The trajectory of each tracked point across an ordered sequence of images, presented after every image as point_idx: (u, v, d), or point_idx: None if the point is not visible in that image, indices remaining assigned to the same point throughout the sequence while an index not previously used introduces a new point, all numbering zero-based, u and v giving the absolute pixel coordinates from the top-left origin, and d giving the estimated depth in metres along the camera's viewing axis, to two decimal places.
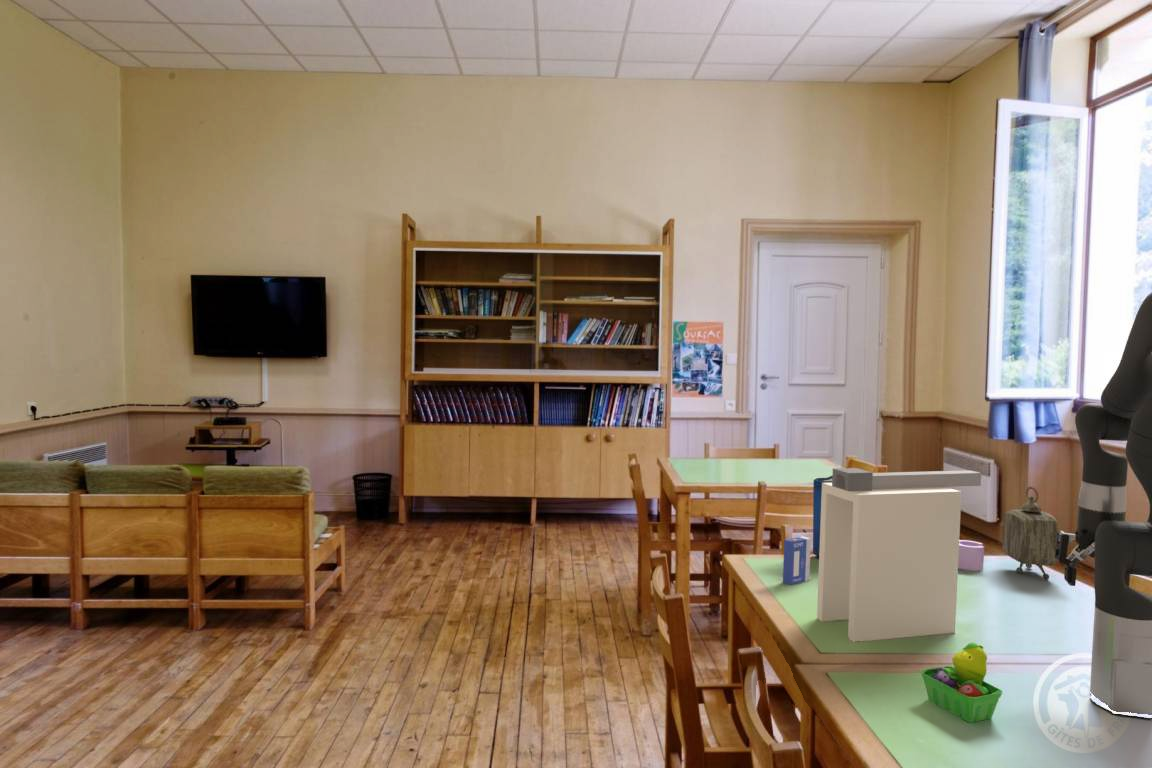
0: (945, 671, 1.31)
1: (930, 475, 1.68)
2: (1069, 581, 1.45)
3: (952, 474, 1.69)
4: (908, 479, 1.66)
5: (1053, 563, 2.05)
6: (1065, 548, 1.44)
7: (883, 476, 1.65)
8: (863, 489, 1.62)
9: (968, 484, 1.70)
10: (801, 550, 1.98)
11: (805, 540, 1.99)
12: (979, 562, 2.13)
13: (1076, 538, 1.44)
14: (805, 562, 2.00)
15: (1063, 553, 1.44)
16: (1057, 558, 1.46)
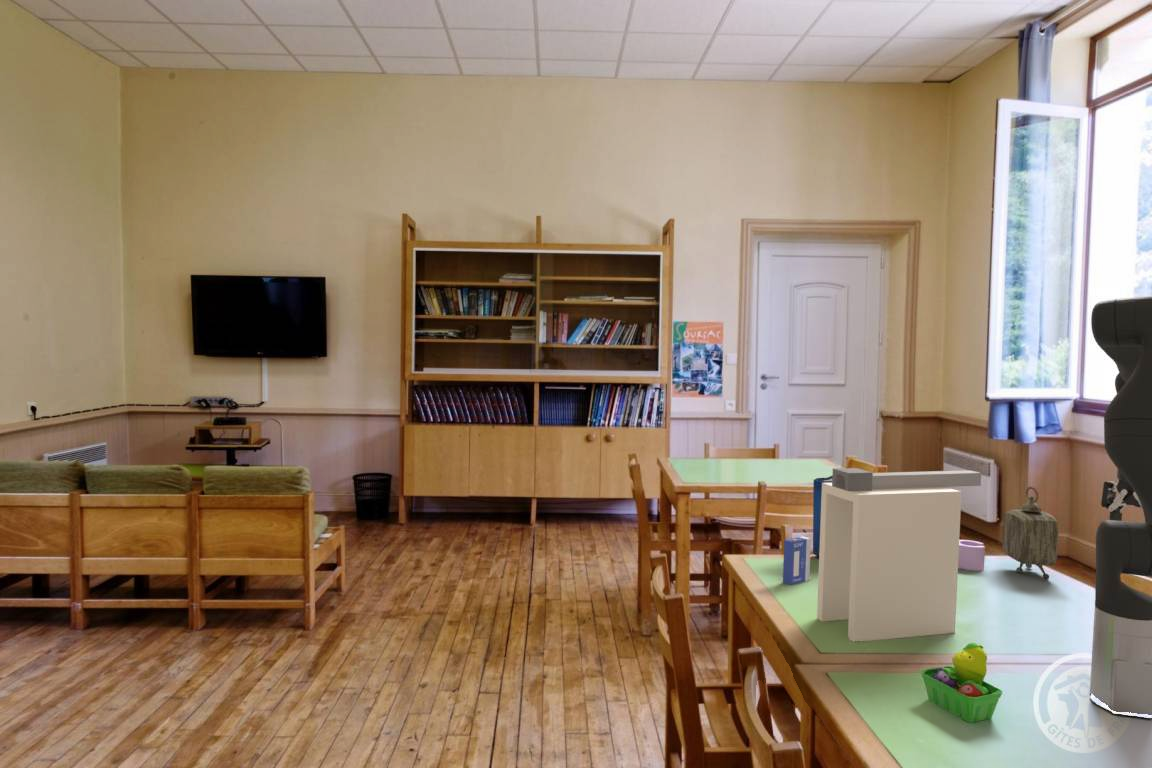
0: (945, 671, 1.31)
1: (930, 475, 1.68)
2: None
3: (952, 474, 1.69)
4: (908, 479, 1.66)
5: (1053, 563, 2.05)
6: None
7: (883, 476, 1.65)
8: (863, 489, 1.62)
9: (968, 484, 1.70)
10: (801, 550, 1.98)
11: (805, 540, 1.99)
12: (980, 562, 2.14)
13: None
14: (805, 562, 2.00)
15: None
16: None
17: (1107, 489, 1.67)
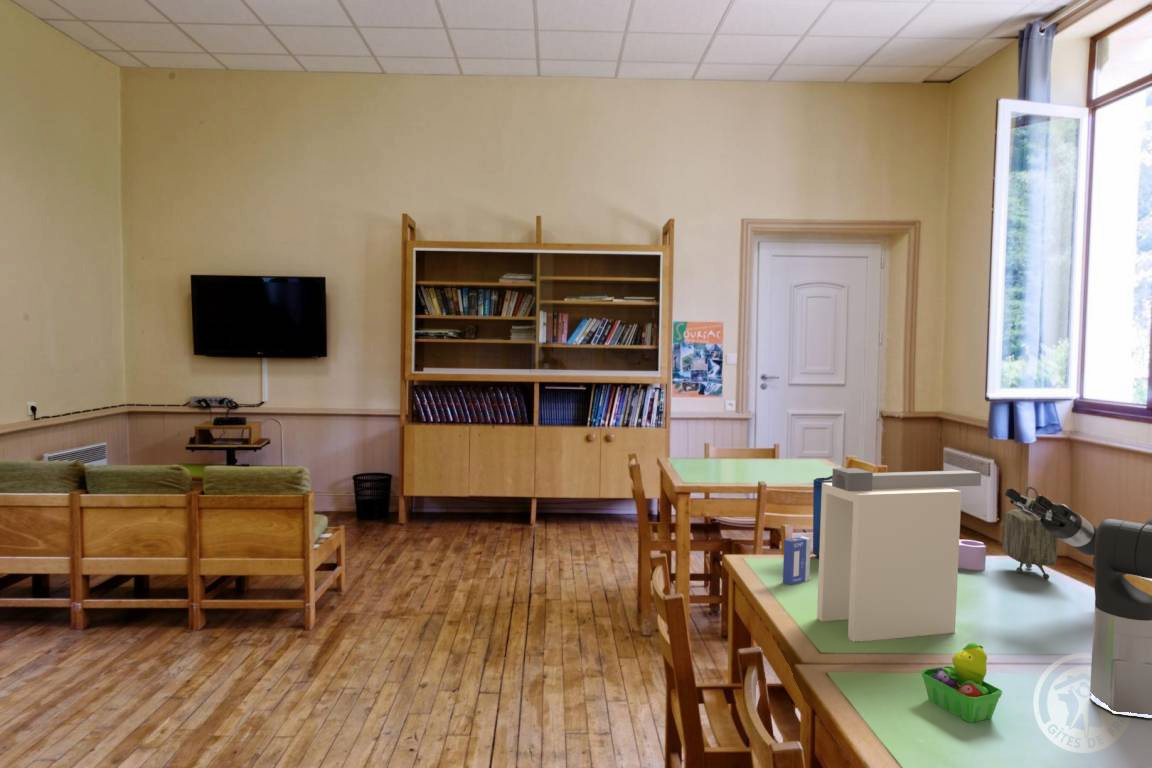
0: (945, 671, 1.31)
1: (930, 475, 1.68)
2: (1040, 503, 1.72)
3: (952, 474, 1.69)
4: (908, 479, 1.66)
5: (1053, 563, 2.05)
6: (1063, 519, 1.72)
7: (883, 476, 1.65)
8: (863, 489, 1.62)
9: (968, 484, 1.70)
10: (801, 550, 1.98)
11: (805, 540, 1.99)
12: (981, 562, 2.14)
13: (1063, 519, 1.75)
14: (805, 562, 2.00)
15: (1061, 517, 1.72)
16: (1062, 512, 1.71)
17: None
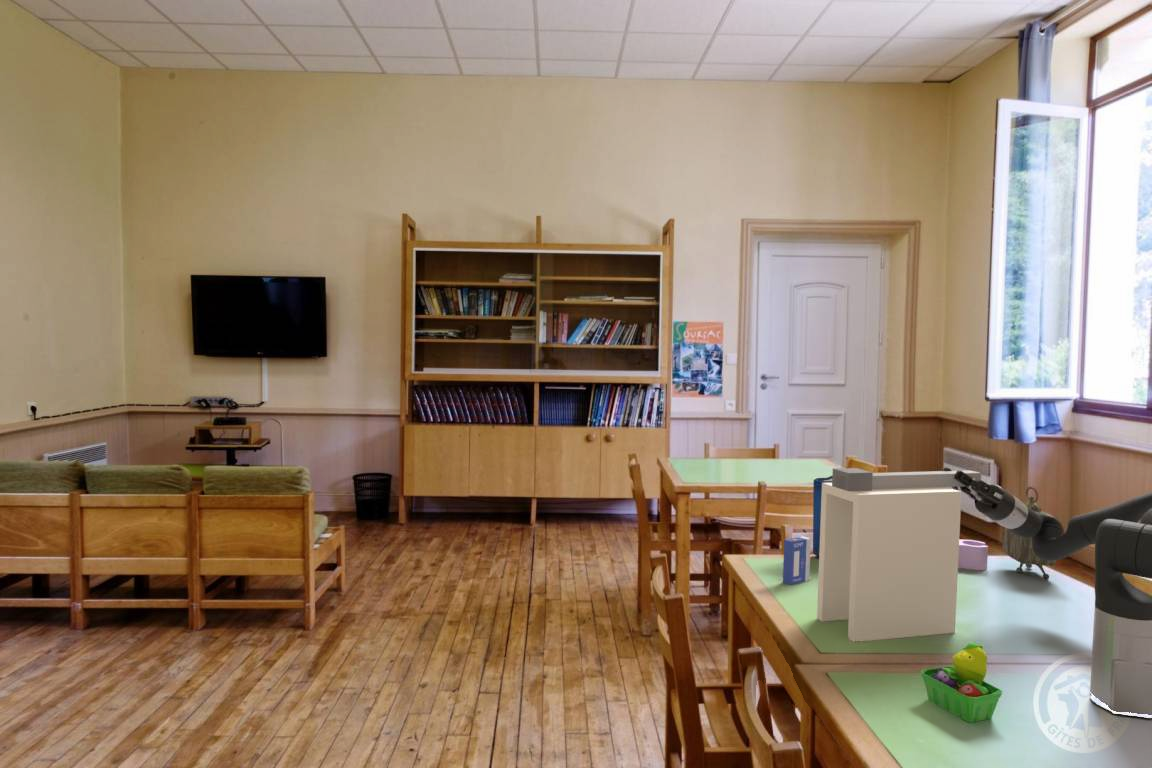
0: (945, 671, 1.31)
1: (930, 475, 1.68)
2: (959, 478, 1.69)
3: (952, 474, 1.69)
4: (908, 479, 1.66)
5: (1053, 563, 2.05)
6: (987, 496, 1.68)
7: (883, 476, 1.65)
8: (863, 489, 1.62)
9: None
10: (801, 550, 1.98)
11: (805, 540, 1.99)
12: (983, 562, 2.14)
13: None
14: (805, 562, 2.00)
15: (982, 493, 1.68)
16: (980, 487, 1.68)
17: None
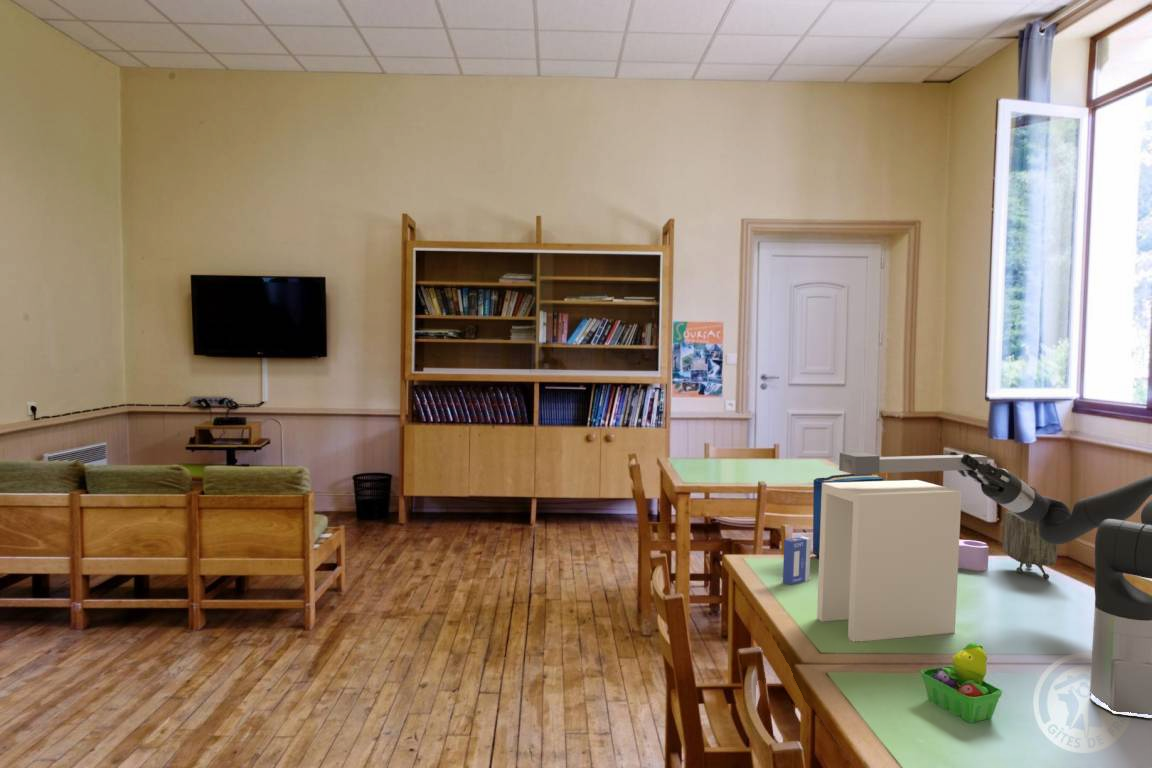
0: (945, 671, 1.31)
1: (937, 459, 1.68)
2: (966, 462, 1.69)
3: (959, 458, 1.70)
4: (915, 463, 1.67)
5: (1053, 563, 2.05)
6: (993, 479, 1.68)
7: (890, 460, 1.65)
8: (870, 472, 1.63)
9: None
10: (801, 550, 1.98)
11: (805, 540, 1.99)
12: (984, 562, 2.14)
13: None
14: (805, 562, 2.00)
15: (989, 477, 1.68)
16: (987, 471, 1.68)
17: None
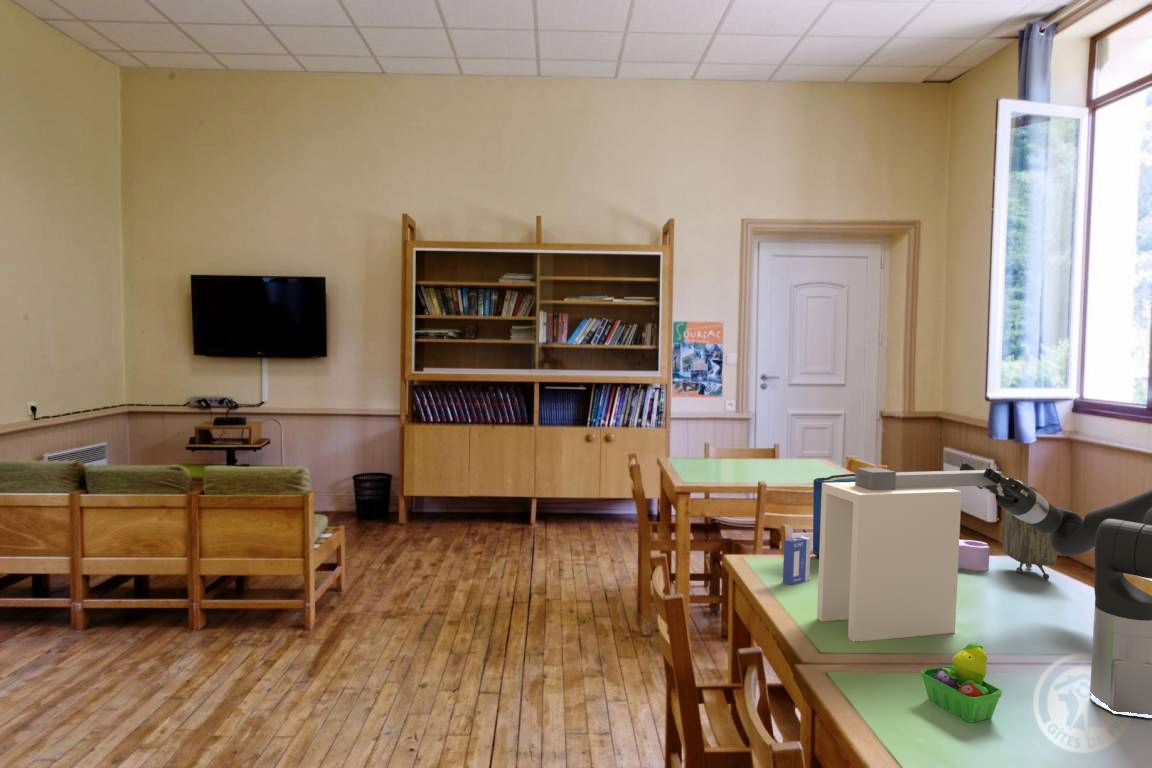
0: (945, 671, 1.31)
1: (952, 474, 1.69)
2: (989, 476, 1.69)
3: (974, 473, 1.71)
4: (931, 478, 1.68)
5: (1053, 563, 2.05)
6: (1014, 493, 1.69)
7: (906, 475, 1.66)
8: (886, 488, 1.64)
9: (989, 483, 1.72)
10: (801, 550, 1.98)
11: (805, 540, 1.99)
12: (985, 562, 2.13)
13: (1015, 494, 1.71)
14: (805, 562, 2.00)
15: (1010, 491, 1.68)
16: (1010, 485, 1.68)
17: None
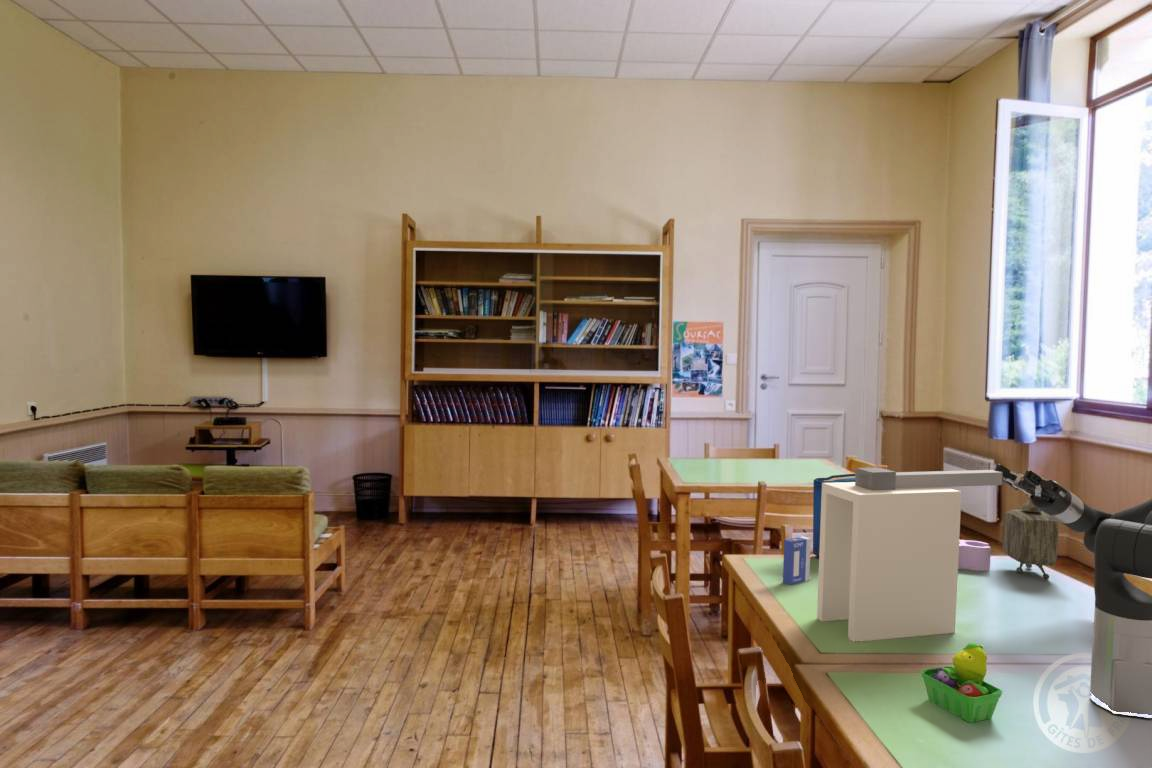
0: (945, 671, 1.31)
1: (952, 474, 1.69)
2: (1029, 478, 1.71)
3: (974, 473, 1.71)
4: (931, 478, 1.68)
5: (1053, 563, 2.05)
6: (1052, 494, 1.71)
7: (906, 475, 1.66)
8: (886, 488, 1.64)
9: (989, 483, 1.72)
10: (801, 550, 1.98)
11: (805, 540, 1.99)
12: (986, 563, 2.13)
13: (1052, 495, 1.74)
14: (805, 562, 2.00)
15: (1050, 492, 1.71)
16: (1051, 487, 1.70)
17: None
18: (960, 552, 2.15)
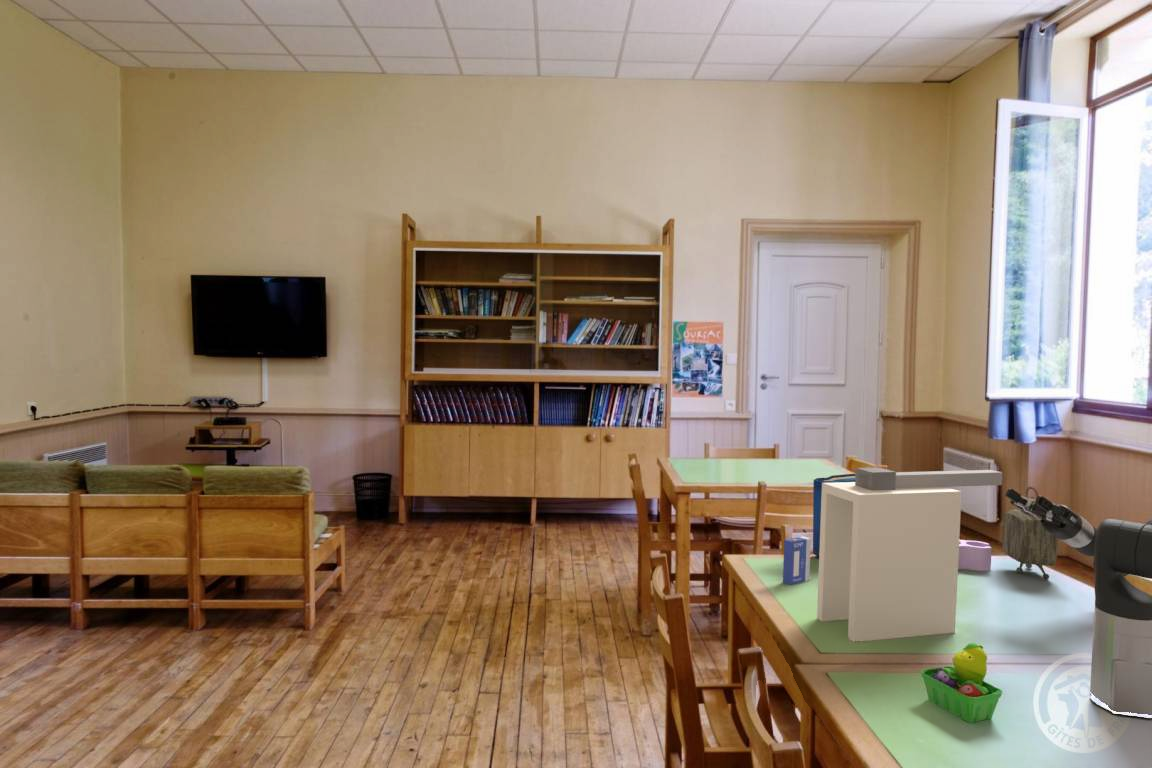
0: (945, 671, 1.31)
1: (952, 474, 1.69)
2: (1040, 503, 1.72)
3: (974, 473, 1.71)
4: (931, 478, 1.68)
5: (1053, 563, 2.05)
6: (1064, 520, 1.72)
7: (906, 475, 1.66)
8: (886, 488, 1.64)
9: (989, 483, 1.72)
10: (801, 550, 1.98)
11: (805, 540, 1.99)
12: (987, 563, 2.13)
13: (1063, 520, 1.75)
14: (805, 562, 2.00)
15: (1061, 518, 1.72)
16: (1062, 513, 1.71)
17: None
18: (961, 552, 2.15)
